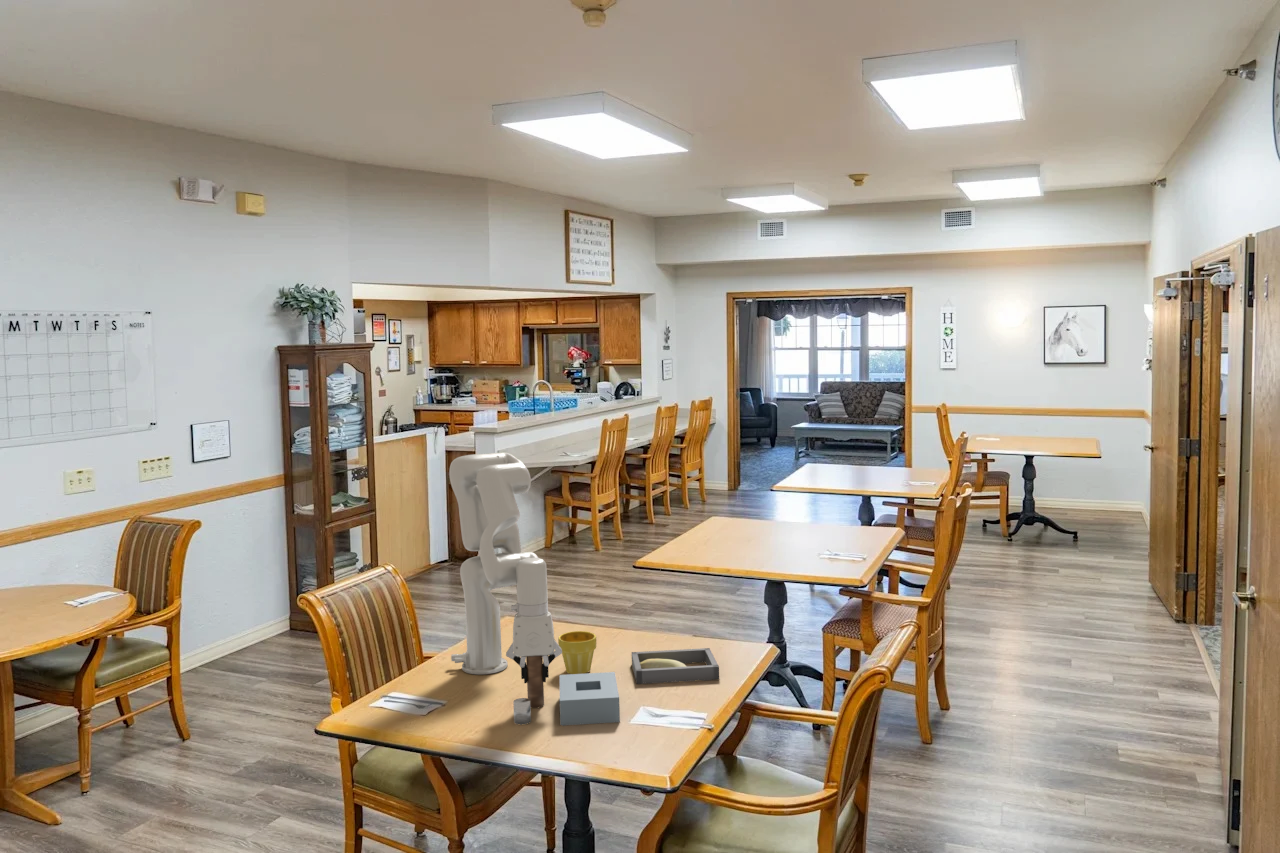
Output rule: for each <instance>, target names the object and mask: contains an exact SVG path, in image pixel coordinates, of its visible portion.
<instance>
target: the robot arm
mask: <svg viewBox="0 0 1280 853" xmlns="http://www.w3.org/2000/svg"><path fill="white" fill-rule="evenodd" d="M448 472H449V481H450V485H451V486H450V487H451V488H452V490H453V493H454V495H455V498H456V501H457V504H458V505H457V506H458V512H459V513H458V514H459V521H460V522H459V523H460V531H461V539H462V544H463V547H464V548H465V550H467V551H470V552H479V555H477V556H473V557H469V558H467V559H466V560H465V561H463V562H462V563H461V565H460V568H459V574H460V580H461V584H462V590H463V596H464V598H463V599H464V610H465V611H464V612H465V630H466V631H465V632H466V633H465V634H466V636H465V637H466V651H465V652H463V653H461V654H458V653H455V654H454V653H453V654H450V655H451V656H450V659H451V662H454V663H455V664H461V663H462V665H461V669H462V671H463V672H465V673H466V674H471V675H491V674H495V673H499V672H501V671H503V670H505V669H507V667H508V660H507V659H505V658H503V656H502V655H503V654H502V653H503V652H502V633H501V632H502V631H501V630H502V628H501V607H500V603H499V601H498V599H497V598H496V597H495V595H493V594H492V592H491V591H492V590H494V589H500V588H506V587H512V586H516V603H514V604H511V606H510V607H511V611H515V612H516V613H515V614H514V618H513V623H512V624H513V625H512V643H511V644H510V646H509V648H508V649H507V651H506V654H505V656H506V657H507V658H510V660H513V661H514V662H515V663H516V665H519V667H520V672H521V673H520V674H521V676H520V677H521V678H520V679H521V680H523V681H524V682H523V684H527V663H526V657H529V656H542V657H543V666H542V670H543V683H547V682H546V681H547V678H549V676H550V675H549V665H550V664H551V663H552V662H553V661H554V660H555V659H556V658H558V657H559V656H560V655H562V649H561V648H560V646H559V643H558V642H557V641H556V640H555V630H554V622H553V617H552V613H551V612H550V611H549V605H548V604H549V600H548V599H549V597H548V595H549V594H548V570H547V563H546V561H545V560H544V559H543V558H540V557H539V556H538V555H537V554H536V553H535V552H532V551H525V552H522V547H521V546H522V545H521V537H520V531H519V530H520V529H519V527H518V523H517V522H518V521H519V519H520V516H521V513H520V509H519V506H518V503H517V500H516V498H515V495H520V494H526V493H527V492H528V491H529V490H530V488H531V485H532V478H531V474H530V471H529V470H528V467H527V466H526V465H525V464H524V462H523V461H522V460H520V459H518V458H517V457H515V456H514V455H513V454H511V453H508V452H491V453H476V454H465V455H462V456H457V457H456V458H455V459H453V460H452V461H451V463H450V466H449V471H448ZM495 549H499V550H500V551H501V553H500V552H499V553H496V552H495Z"/></svg>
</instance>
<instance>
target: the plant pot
mask: <svg viewBox="0 0 1280 853" xmlns="http://www.w3.org/2000/svg"><path fill="white" fill-rule="evenodd" d="M557 643H558V645H559V646H560V648H561V649H562V654H561V655H562V656H561V657H562V659H563V664H564V668H565V671H566V673H567V674H587V673H589V672H590V671H591V668H592V663H593V657H594V652H595V650H596V649H597V635H596V634H595V633H593V632H591V631H586V630H573V631H568V632H565V633H562V634H560V635H559V636H558V642H557Z"/></svg>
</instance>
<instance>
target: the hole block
mask: <svg viewBox="0 0 1280 853" xmlns="http://www.w3.org/2000/svg"><path fill="white" fill-rule="evenodd" d="M618 688H619V687H618V683H617V676H616V672H615V671H610V672H609V671H607V672H592V673H589V672H588V673H585V674H569V673H567V674H559V713H560V714H559V715H560V716H559V720H560V721H559V722H560V723H559V724H560V726H561V725H562V726H575V725H576V726H577V725H591V724H593V725H594V724H611V723H612V724H613V723H621V716H620V715H621V712H620V711H621V710H620V709H621V708H620V693H619V689H618Z"/></svg>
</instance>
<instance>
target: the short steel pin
mask: <svg viewBox="0 0 1280 853" xmlns="http://www.w3.org/2000/svg"><path fill="white" fill-rule="evenodd" d="M512 702H513V723H514V724H515V725H518V724H520V725H521V726H523V725H522V724H525V725H528V724H530V723H531V722H532V711H531V709H532V708H531V706H530V699H528V697H521V698H520V697H519V698H516V699H514V700H513V701H512ZM529 722H530V723H529ZM527 723H528V724H527ZM520 725H519V726H520Z"/></svg>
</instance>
